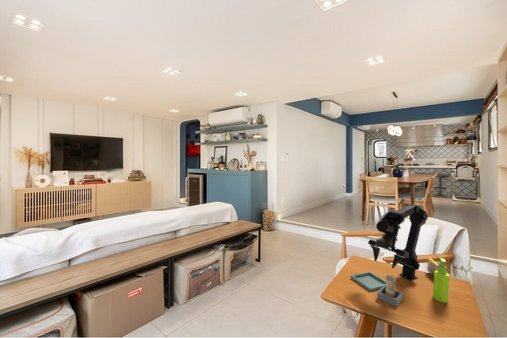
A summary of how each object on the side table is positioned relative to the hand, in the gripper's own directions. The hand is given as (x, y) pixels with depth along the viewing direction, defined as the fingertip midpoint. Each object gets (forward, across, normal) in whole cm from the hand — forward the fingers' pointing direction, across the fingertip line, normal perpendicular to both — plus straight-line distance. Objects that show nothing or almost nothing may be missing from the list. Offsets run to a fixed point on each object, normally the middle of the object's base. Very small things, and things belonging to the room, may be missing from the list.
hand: (383, 264), depth 124 cm
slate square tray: (+15, +7, -1) cm, 17 cm away
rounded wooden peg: (+14, +7, -1) cm, 16 cm away
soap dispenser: (+7, +19, +21) cm, 29 cm away
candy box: (0, +8, +41) cm, 42 cm away
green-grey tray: (+13, -7, +4) cm, 15 cm away
